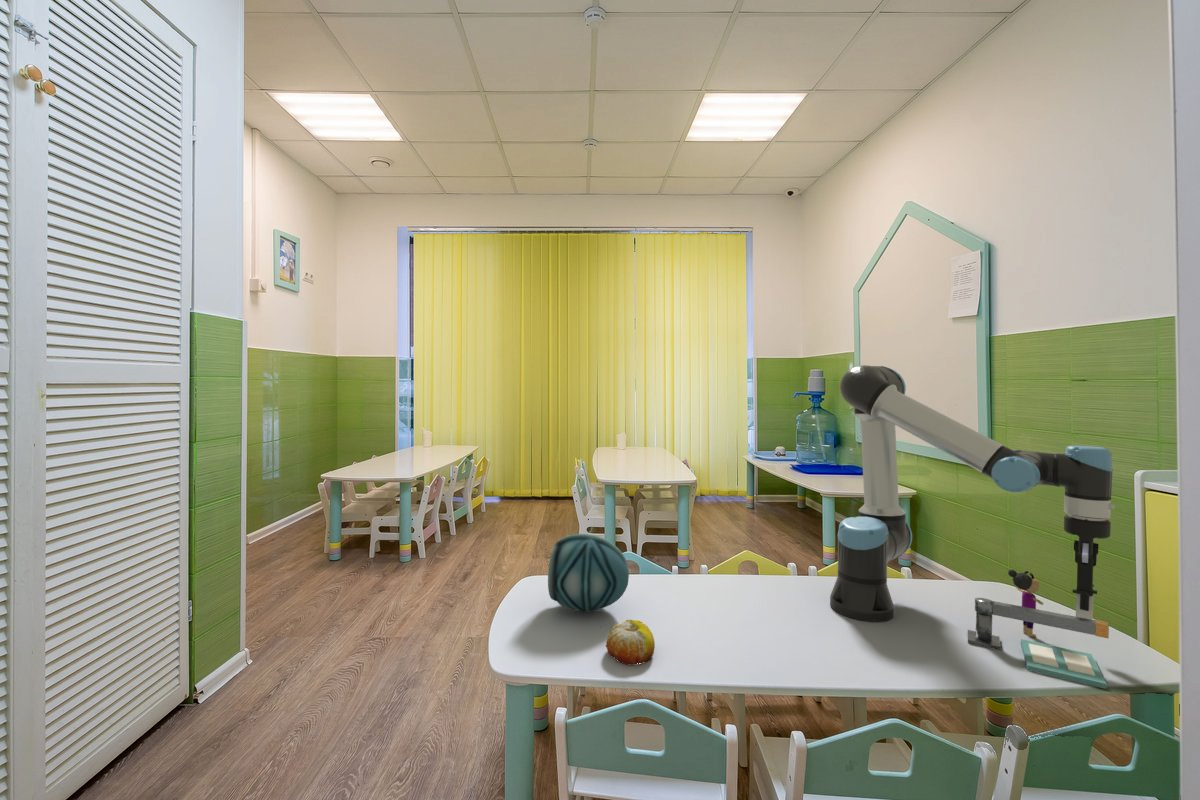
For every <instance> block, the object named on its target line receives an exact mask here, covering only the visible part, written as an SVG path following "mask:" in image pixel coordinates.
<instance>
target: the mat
mask: <svg viewBox="0 0 1200 800" xmlns="http://www.w3.org/2000/svg"><path fill="white" fill-rule="evenodd" d="M1020 646H1021V649H1022V650H1021V651H1022V655H1023V658H1024V659H1023V660H1024V661H1025V662H1024V663H1025V666H1026V670H1027V671H1030V672H1035V673H1039V674H1042V675H1047V676H1051V677H1056V678H1058V679H1063V680H1068V681H1070V682H1071V681H1072V682H1075V683H1081V684H1085V685H1088V686H1093V687H1096V688H1101V689H1104V690H1106V689H1107V682H1106V681H1105V678H1104V676H1103V674H1102V672H1101V671H1100V668H1099V667H1098V665H1097V662H1096V660H1095V658H1094V656H1093V655H1092V653H1087V652H1082V651H1078V650H1074V649H1070V648H1069V649H1068V648H1065V647H1060V646H1056V645H1051V644H1047V643H1042V642H1037V641H1032V640H1028V639H1024V638H1020Z"/></svg>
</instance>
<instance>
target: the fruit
mask: <svg viewBox="0 0 1200 800" xmlns="http://www.w3.org/2000/svg"><path fill="white" fill-rule="evenodd" d="M605 643H606V644H605V647H606V650H607V653H608V654H609V656H610V657H611V656H612V657H615V658H614V659H615V660H616V659H617V660H618V661H620V662H619V663H622V662H623V664H624V663H625V665H627V664H637V663H638V664H639V663H642V664H644V663H643V662H645V663H647V662H649V661H650V660H652V657H653V656H654V653H655V649H656V646H655V645H656V644H655V639H654V635H653V632H652V631H651V629H650V628H649V626H648V625H646V624H645V623H643V621H641V620H638V619H626V620H625V621H623V622H621V623H617V624H615V625H613V626H612V628H611V629H610V631H609V634H608V636H607V638H606V642H605ZM612 657H611V658H612ZM617 660H616V661H617ZM618 661H617V662H618Z"/></svg>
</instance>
